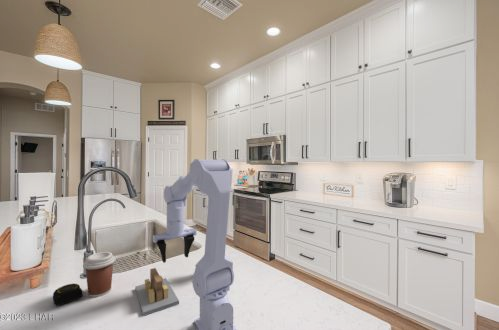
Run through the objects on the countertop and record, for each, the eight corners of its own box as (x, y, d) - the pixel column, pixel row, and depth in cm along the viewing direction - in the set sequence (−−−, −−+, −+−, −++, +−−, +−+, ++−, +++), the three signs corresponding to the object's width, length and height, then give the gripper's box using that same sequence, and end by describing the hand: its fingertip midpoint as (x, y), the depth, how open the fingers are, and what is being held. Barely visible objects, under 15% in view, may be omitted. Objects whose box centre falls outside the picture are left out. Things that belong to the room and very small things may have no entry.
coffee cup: (118, 282, 82) (118, 249, 82) (112, 296, 73) (111, 259, 73) (89, 286, 79) (88, 252, 79) (78, 301, 71) (78, 263, 70)
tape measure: (54, 310, 67) (53, 297, 67) (52, 300, 72) (51, 288, 72) (82, 300, 72) (82, 288, 72) (79, 291, 77) (78, 280, 77)
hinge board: (179, 303, 70) (179, 290, 70) (143, 316, 64) (143, 301, 64) (165, 280, 83) (165, 269, 83) (135, 289, 78) (135, 277, 78)
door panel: (162, 300, 70) (162, 280, 70) (156, 302, 69) (156, 282, 69) (155, 285, 78) (155, 267, 78) (150, 286, 78) (150, 269, 77)
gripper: (191, 215, 87) (191, 250, 87) (150, 220, 79) (150, 259, 79) (198, 219, 81) (198, 257, 81) (155, 225, 73) (155, 267, 73)
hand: (175, 258), depth 80 cm, fingers open, 7 cm apart
